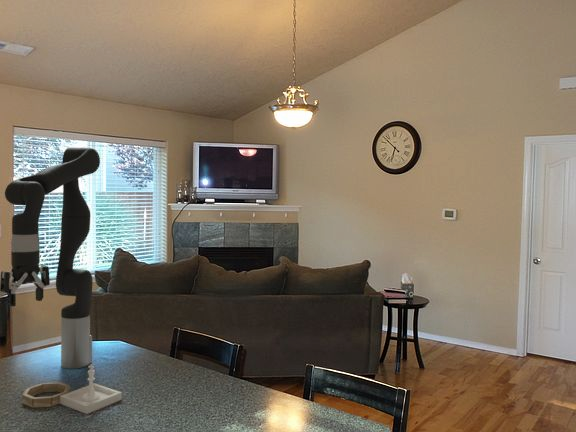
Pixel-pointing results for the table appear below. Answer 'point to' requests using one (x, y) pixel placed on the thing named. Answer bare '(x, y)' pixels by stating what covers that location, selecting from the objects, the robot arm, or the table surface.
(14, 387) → the table surface
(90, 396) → the chess piece
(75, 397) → the tray
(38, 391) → the holder ring
